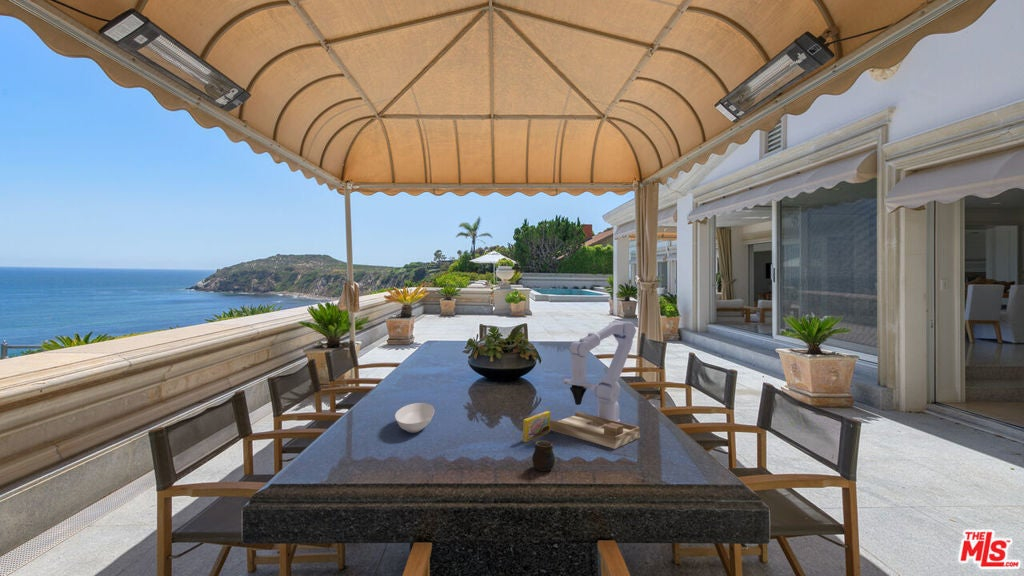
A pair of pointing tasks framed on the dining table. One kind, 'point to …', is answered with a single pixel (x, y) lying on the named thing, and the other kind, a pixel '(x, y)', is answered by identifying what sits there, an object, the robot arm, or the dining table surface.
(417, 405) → the bowl
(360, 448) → the dining table surface
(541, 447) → the mate gourd
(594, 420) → the box
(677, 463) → the dining table surface
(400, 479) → the dining table surface
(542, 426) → the candy box
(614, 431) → the block
